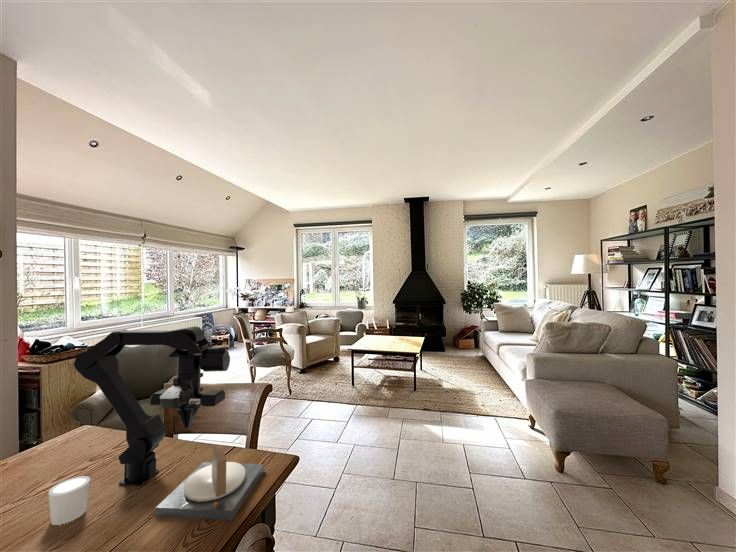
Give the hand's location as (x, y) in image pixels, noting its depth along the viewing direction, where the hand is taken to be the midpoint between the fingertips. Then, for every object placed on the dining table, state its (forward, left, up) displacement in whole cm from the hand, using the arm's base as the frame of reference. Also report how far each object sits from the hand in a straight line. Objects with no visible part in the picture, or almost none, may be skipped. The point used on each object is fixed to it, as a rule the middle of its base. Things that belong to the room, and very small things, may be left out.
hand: (187, 427), depth 84 cm
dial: (+12, -6, -11) cm, 18 cm away
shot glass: (-17, -16, -13) cm, 27 cm away
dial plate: (+12, -6, -13) cm, 19 cm away
